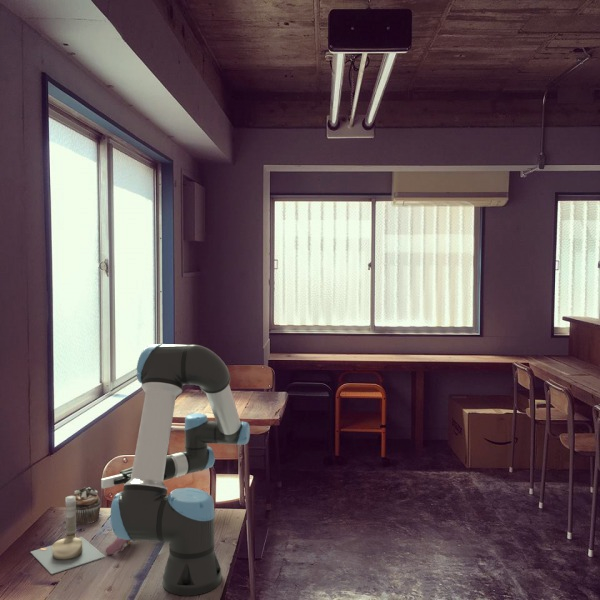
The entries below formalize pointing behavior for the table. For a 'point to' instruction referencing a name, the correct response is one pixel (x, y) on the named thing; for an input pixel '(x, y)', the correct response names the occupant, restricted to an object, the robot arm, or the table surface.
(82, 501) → the cupcake
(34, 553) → the base
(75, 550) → the cream oval with post
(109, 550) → the video game controller
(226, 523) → the table surface
